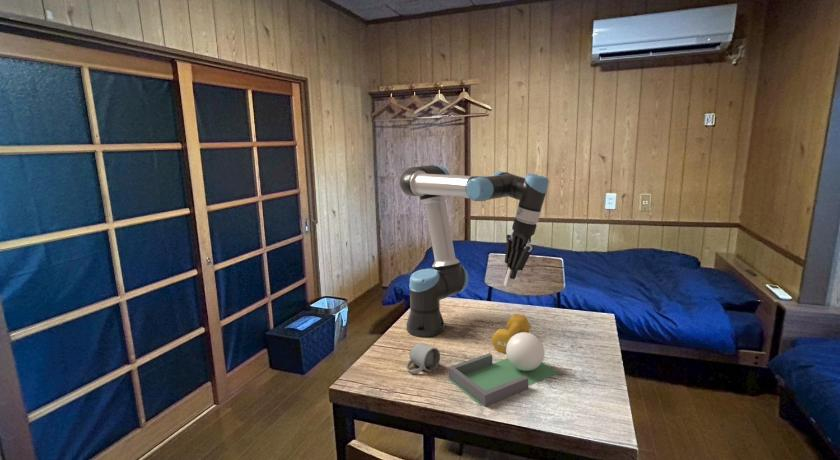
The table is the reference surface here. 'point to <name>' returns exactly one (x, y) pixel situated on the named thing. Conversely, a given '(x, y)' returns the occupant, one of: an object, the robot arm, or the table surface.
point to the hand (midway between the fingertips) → (507, 285)
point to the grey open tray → (476, 391)
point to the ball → (525, 351)
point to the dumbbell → (510, 331)
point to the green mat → (505, 375)
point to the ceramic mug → (423, 357)
